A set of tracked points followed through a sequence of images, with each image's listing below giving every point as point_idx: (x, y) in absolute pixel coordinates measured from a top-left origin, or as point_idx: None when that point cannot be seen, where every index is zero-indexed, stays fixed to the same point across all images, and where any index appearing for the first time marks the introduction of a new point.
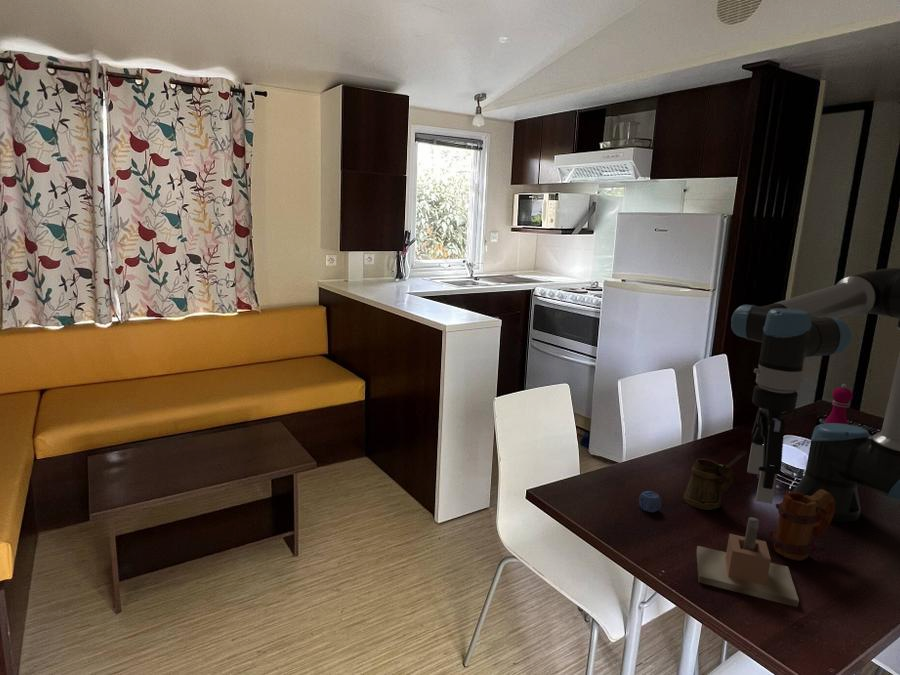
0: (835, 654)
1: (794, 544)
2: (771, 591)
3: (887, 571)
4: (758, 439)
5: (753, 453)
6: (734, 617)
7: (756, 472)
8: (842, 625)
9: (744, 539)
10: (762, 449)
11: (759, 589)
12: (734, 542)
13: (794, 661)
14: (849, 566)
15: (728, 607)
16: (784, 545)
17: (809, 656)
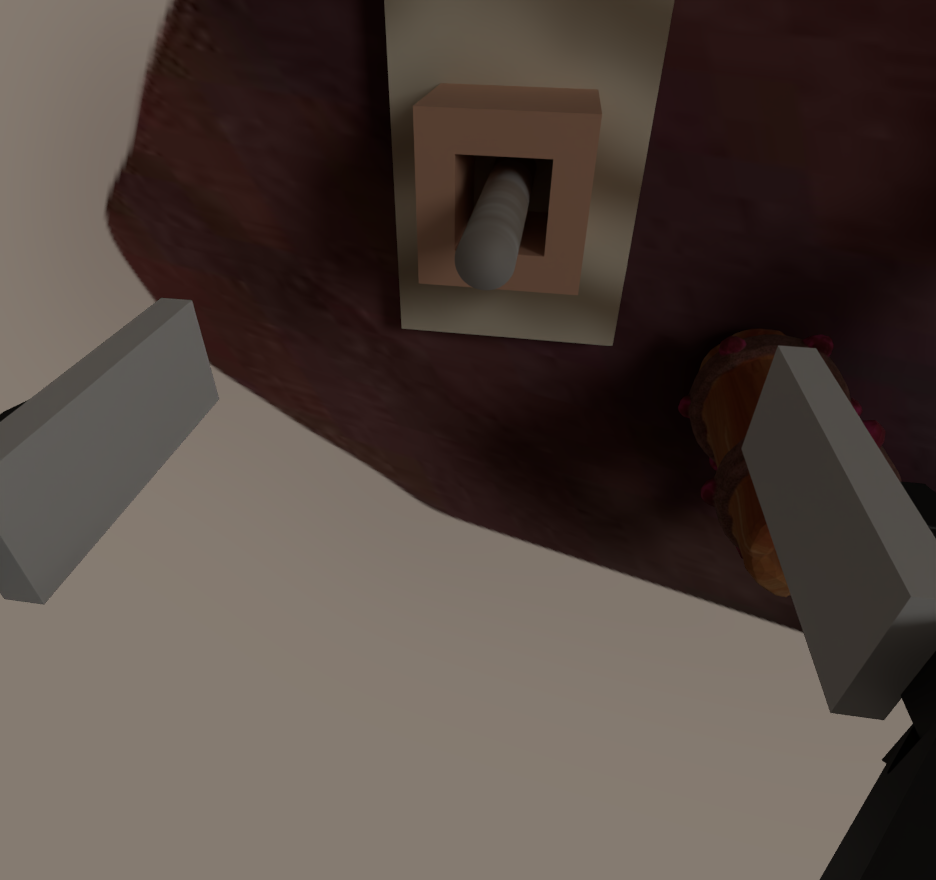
0: (238, 356)
1: (707, 407)
2: (413, 250)
3: (706, 592)
4: (918, 741)
5: (841, 514)
6: (227, 80)
7: (757, 421)
8: (379, 409)
9: (561, 192)
10: (829, 643)
11: (404, 207)
12: (508, 130)
13: (133, 243)
14: (710, 520)
15: (276, 62)
16: (712, 370)
17: (184, 289)
